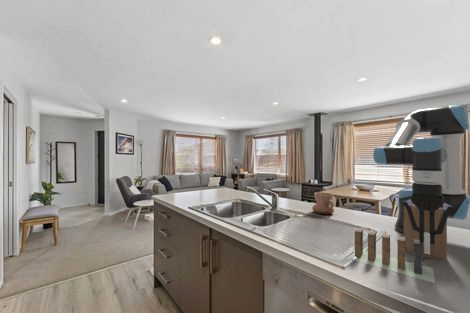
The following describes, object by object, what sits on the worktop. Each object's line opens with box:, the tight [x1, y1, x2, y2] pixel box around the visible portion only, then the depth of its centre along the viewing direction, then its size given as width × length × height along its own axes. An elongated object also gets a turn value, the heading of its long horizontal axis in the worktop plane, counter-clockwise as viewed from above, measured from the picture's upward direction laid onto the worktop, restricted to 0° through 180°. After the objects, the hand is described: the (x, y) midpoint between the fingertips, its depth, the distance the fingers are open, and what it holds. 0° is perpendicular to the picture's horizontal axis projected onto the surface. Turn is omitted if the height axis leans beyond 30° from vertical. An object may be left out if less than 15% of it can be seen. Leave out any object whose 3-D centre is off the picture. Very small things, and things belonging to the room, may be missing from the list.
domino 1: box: [367, 230, 377, 262], centre depth 82 cm, size 5×2×10 cm, turn 139°
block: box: [403, 203, 448, 260], centre depth 87 cm, size 10×10×20 cm
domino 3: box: [396, 235, 406, 270], centre depth 76 cm, size 5×2×10 cm, turn 139°
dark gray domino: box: [413, 239, 423, 275], centre depth 73 cm, size 5×2×10 cm, turn 139°
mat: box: [347, 247, 436, 284], centre depth 79 cm, size 12×26×1 cm, turn 49°
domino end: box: [354, 227, 364, 258], centre depth 85 cm, size 5×2×10 cm, turn 139°
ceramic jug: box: [312, 191, 335, 215], centre depth 152 cm, size 18×14×14 cm
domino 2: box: [381, 232, 391, 266], centre depth 79 cm, size 5×2×10 cm, turn 139°
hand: (426, 252), depth 72 cm, fingers closed
